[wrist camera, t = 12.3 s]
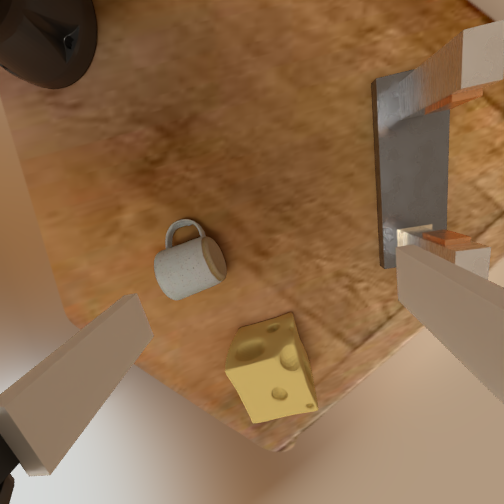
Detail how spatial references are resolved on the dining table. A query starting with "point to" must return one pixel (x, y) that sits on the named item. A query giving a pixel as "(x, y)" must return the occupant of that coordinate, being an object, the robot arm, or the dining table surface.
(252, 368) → the cheese
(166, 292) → the ceramic mug
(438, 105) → the rail
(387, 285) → the dining table surface
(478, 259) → the loose carton
